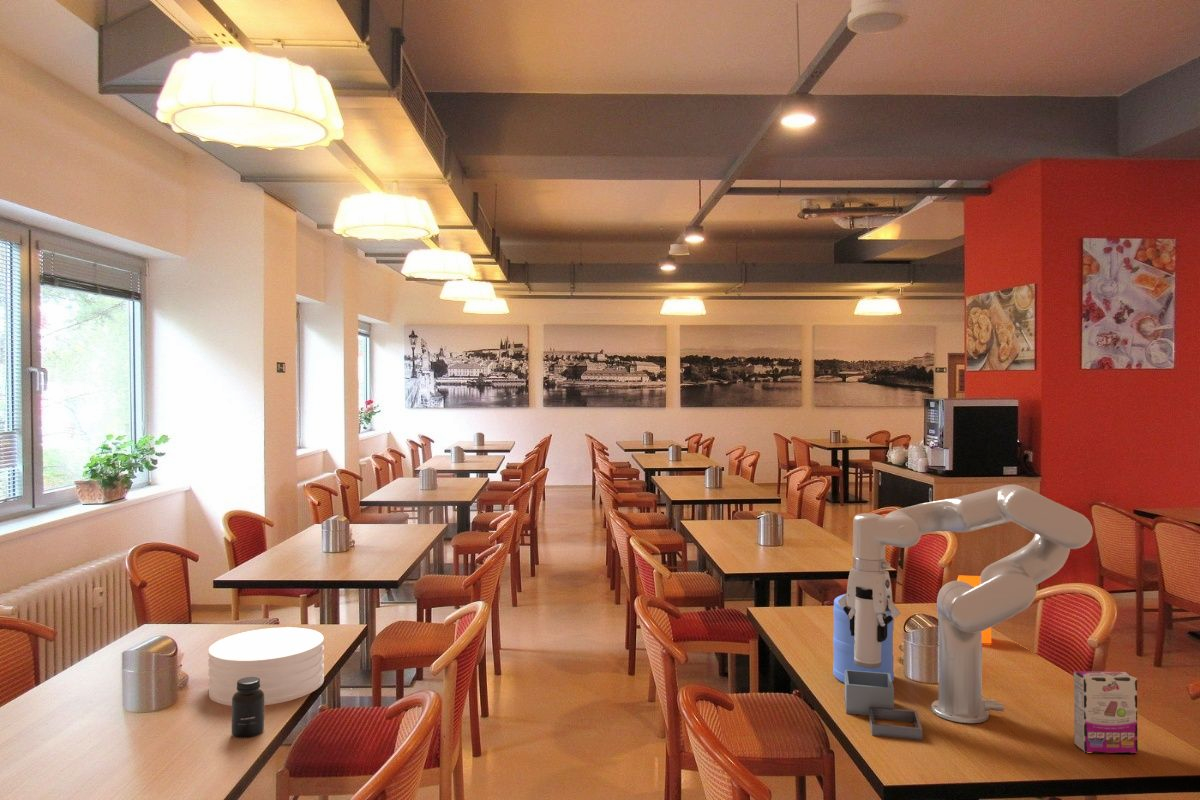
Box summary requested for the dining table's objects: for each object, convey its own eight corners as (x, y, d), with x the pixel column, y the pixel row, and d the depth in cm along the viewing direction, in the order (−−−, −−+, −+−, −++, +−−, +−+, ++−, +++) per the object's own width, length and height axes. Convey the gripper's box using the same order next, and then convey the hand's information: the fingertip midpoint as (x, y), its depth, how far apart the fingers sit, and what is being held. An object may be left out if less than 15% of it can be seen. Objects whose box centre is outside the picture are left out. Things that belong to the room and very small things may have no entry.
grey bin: (889, 701, 203) (889, 673, 203) (893, 718, 193) (894, 688, 193) (844, 697, 206) (844, 669, 206) (846, 713, 196) (846, 684, 195)
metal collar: (916, 721, 191) (916, 711, 191) (922, 740, 181) (922, 729, 181) (868, 717, 193) (868, 706, 193) (872, 735, 183) (872, 724, 183)
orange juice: (953, 635, 258) (954, 572, 257) (983, 636, 256) (983, 573, 256) (961, 643, 250) (961, 578, 249) (991, 644, 249) (992, 579, 248)
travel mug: (885, 663, 200) (886, 582, 199) (874, 670, 195) (875, 587, 194) (861, 658, 204) (861, 578, 204) (849, 664, 199) (850, 583, 199)
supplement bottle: (243, 741, 180) (243, 687, 180) (225, 734, 183) (224, 681, 183) (270, 730, 186) (270, 678, 185) (252, 724, 189) (252, 672, 189)
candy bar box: (1124, 744, 178) (1125, 670, 178) (1138, 755, 173) (1139, 678, 173) (1072, 743, 179) (1072, 669, 179) (1084, 754, 174) (1085, 677, 174)
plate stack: (203, 713, 196) (203, 666, 196) (213, 675, 222) (212, 633, 222) (326, 697, 206) (326, 652, 206) (321, 663, 232) (321, 623, 232)
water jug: (874, 693, 208) (875, 584, 208) (821, 677, 220) (821, 574, 220) (905, 679, 219) (905, 575, 218) (853, 664, 230) (853, 566, 230)
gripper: (910, 567, 196) (909, 642, 196) (843, 557, 208) (843, 627, 208) (896, 572, 190) (895, 649, 190) (829, 561, 202) (828, 633, 203)
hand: (868, 637), depth 199 cm, fingers closed on travel mug, 6 cm apart
